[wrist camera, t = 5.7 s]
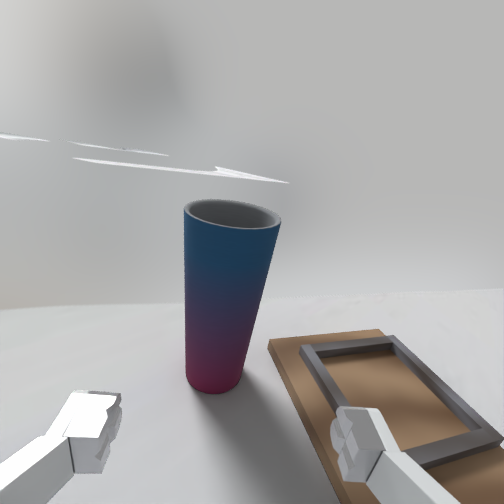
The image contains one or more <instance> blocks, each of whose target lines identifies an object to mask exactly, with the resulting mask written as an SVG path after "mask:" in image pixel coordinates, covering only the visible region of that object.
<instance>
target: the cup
mask: <svg viewBox="0 0 504 504" xmlns="http://www.w3.org/2000/svg"><path fill="white" fill-rule="evenodd" d="M280 224H281V218H280V217H279V216H278V215H277V214H276V213H274V212H272V211H270V210H268V209H266V208H263V207H260V206H256V205H253V204H249V203H244V202H238V201H230V200H219V199H208V200H198V201H193V202H190V203H188V204H187V205H186V206H185V207H184V261H185V262H184V265H185V356H186V377H187V379H188V381H189V383H190V384H191V385H192V386H193V387H194V388H195V389H197V390H199V391H201V392H204V393H208V394H220V393H224V392H227V391H229V390H230V389H232V388H233V387H234V386H235V385H236V384H237V383H238V382H239V380H240V377H241V373H242V370H243V366H244V362H245V358H246V354H247V351H248V347H249V343H250V339H251V335H252V331H253V328H254V324H255V320H256V316H257V312H258V309H259V305H260V301H261V297H262V293H263V289H264V286H265V282H266V278H267V274H268V270H269V266H270V263H271V259H272V255H273V251H274V247H275V243H276V240H277V236H278V232H279V228H280Z"/></svg>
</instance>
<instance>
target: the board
mask: <svg viewBox="0 0 504 504" xmlns="http://www.w3.org/2000/svg"><path fill="white" fill-rule="evenodd" d="M268 350H269V353H270V355H271V357H272V359H273V361H274V363H275V365H276V367H277V369H278V372H279V374H280V376H281V378H282V380H283V382H284V384H285V386H286V389H287V391H288V393H289V395H290V397H291V399H292V401H293V403H294V405H295V408H296V410H297V412H298V414H299V416H300V418H301V420H302V422H303V424H304V427H305V429H306V431H307V433H308V435H309V437H310V439H311V441H312V443H313V446H314V448H315V450H316V452H317V454H318V456H319V458H320V460H321V462H322V465H323V467H324V469H325V471H326V473H327V475H328V477H329V479H330V481H331V484H332V486H333V488H334V490H335V492H336V494H337V496H338V498H339V500H340V503H341V504H381V503H380V502H379V500H378V499H377V498H376V496H375V495H374V494H373V493H372V491H371V490H370V489H369V487H368V486H367V485H366V483H363V482H348V481H343V478H342V474H341V471H340V468H339V465H338V462H337V460H338V457H339V454H338V453H337V451H336V450H335V449H334V448H333V445H332V441H331V436H330V427H331V424H332V421H333V420H334V419H335V418H337V415H336V410H337V408H338V407H340V406H345V407H363V408H377V409H378V410H379V411H380V412H381V414H382V416H383V418H384V420H385V422H386V424H387V426H388V428H389V430H390V432H391V434H392V436H393V437H394V439H395V441H396V443H397V445H398V447H399V449H400V451H401V452H405V453H406V454H407V455H408V456H409V457H410V458H412V459H413V460H414V461H415V462H416V463H417V464H418V465H419V466H420V467H421V468H422V469H424V470H425V471H426V472H427V473H428V474H429V475H430V476H431V477H432V478H433V479H434V480H436V481H437V482H438V483H439V484H440V485H441V486H442V487H443V488H444V489H445V490H446V491H448V492H449V493H450V494H451V495H452V496H453V497H454V498H455V499H456V500H457V501H458V502H460V503H461V504H504V449H503V448H502V447H501V446H500V444H501V443H502V441H503V440H504V437H503V436H502V435H500V434H499V433H498V432H497V431H496V430H495V429H494V428H493V427H492V426H491V425H490V424H489V423H488V422H487V421H485V420H484V419H483V418H482V417H481V416H480V415H479V414H478V413H477V412H476V411H475V410H474V409H473V408H471V407H470V406H469V405H468V404H467V403H466V402H465V401H464V400H463V399H462V398H461V397H460V396H459V395H457V394H456V393H455V392H454V391H453V390H452V389H451V388H450V387H449V386H448V385H447V384H446V383H445V382H443V381H442V380H441V379H440V378H439V377H438V376H437V375H436V374H435V373H434V372H433V371H432V370H431V369H430V368H428V367H427V366H426V365H425V364H424V363H423V362H422V361H421V360H420V359H419V358H418V357H417V356H416V355H414V354H413V353H412V352H411V351H410V350H409V349H408V348H407V347H406V346H405V345H404V344H403V343H402V342H400V341H399V340H398V339H397V338H396V337H395V336H394V335H391V336H386V335H384V334H383V333H382V332H381V331H380V330H379V329H373V330H362V331H352V332H341V333H331V334H320V335H310V336H299V337H289V338H278V339H269V344H268Z"/></svg>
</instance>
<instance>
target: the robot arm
mask: <svg viewBox="0 0 504 504" xmlns="http://www.w3.org/2000/svg"><path fill="white" fill-rule="evenodd" d="M120 402H121V393H110V392H98V391H86V390H75V391H74V392H73V393H72V394H71V395H70V396H69V398H68V399H67V401H66V403H65V404H64V406H63V407H62V409H61V411H60V412H59V414H58V415H57V417H56V419H55V420H54V422H53V423H52V425H51V427H50V428H49V430H48V431H47V433H46V435H45V436H39V437H38V438H36V439H35V440H34V441H32V442H31V443H29V444H28V445H27V446H25V447H24V448H22V449H21V450H20V451H18V452H17V453H16V454H14V455H13V456H11V457H10V458H9V459H7V460H6V461H5V462H3V463H2V464H0V504H46V503H47V502H48V501H49V500H50V499H51V498H52V497H53V496H54V495H55V494H56V493H57V492H58V491H59V490H60V489H61V488H62V487H63V486H64V485H65V484H66V483H67V482H68V481H69V480H70V479H71V478H72V477H73V476H74V474H102V471H103V469H104V466H105V464H106V461H107V459H108V456H109V454H110V443H111V442H112V441H113V440H114V439H115V438H116V436H117V433H118V430H119V427H120V423H121V417H122V408H121V407H120V406H119V404H120ZM336 415H337V418H335V419H334V420H333V421H332V424H331V427H330V436H331V441H332V445H333V448H334V449H335V450H336V451H337V453H338V454H339V457H338V460H337V462H338V465H339V468H340V471H341V474H342V478H343V481H348V482H363V483H366V485H367V486H368V487H369V489H370V490H371V491H372V493H373V494H374V495H375V496H376V498H377V499H378V500H379V502H380V503H381V504H461V503H460V502H458V501H457V500H456V499H455V498H454V497H453V496H452V495H451V494H450V493H449V492H448V491H446V490H445V489H444V488H443V487H442V486H441V485H440V484H439V483H438V482H437V481H436V480H434V479H433V478H432V477H431V476H430V475H429V474H428V473H427V472H426V471H425V470H424V469H422V468H421V467H420V466H419V465H418V464H417V463H416V462H415V461H414V460H413V459H412V458H410V457H409V456H408V455H407V454H406V453H405V452H401V451H400V449H399V447H398V445H397V443H396V441H395V439H394V437H393V436H392V434H391V432H390V430H389V428H388V426H387V424H386V422H385V420H384V418H383V416H382V414H381V412H380V411H379V410H378V409H377V408H363V407H345V406H340V407H338V408H337V410H336Z"/></svg>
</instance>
